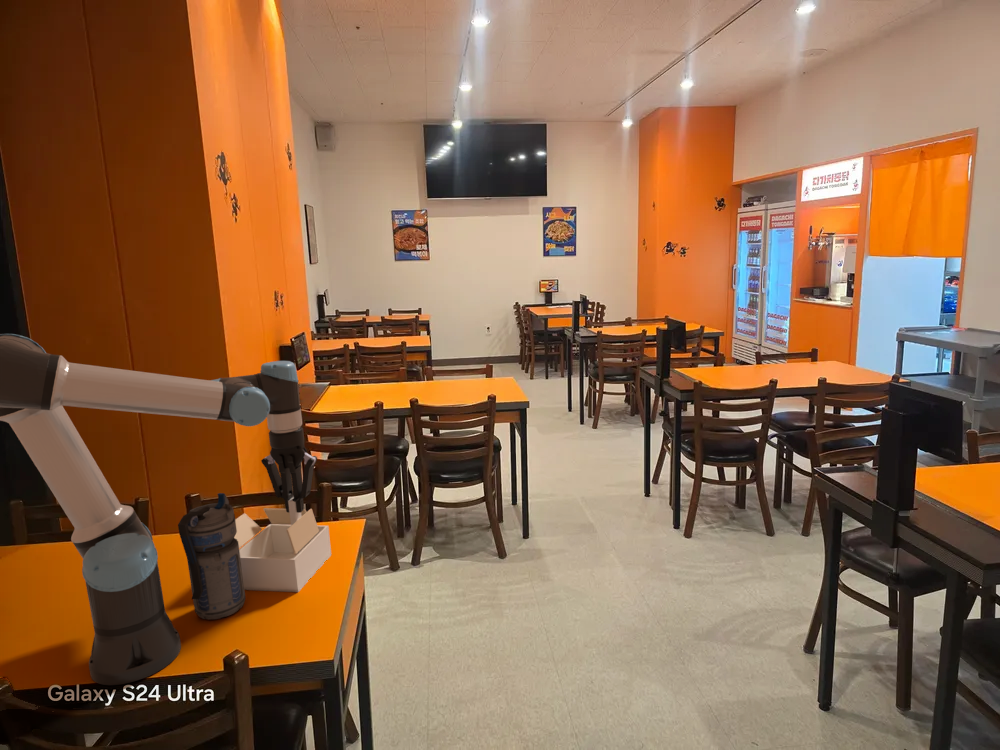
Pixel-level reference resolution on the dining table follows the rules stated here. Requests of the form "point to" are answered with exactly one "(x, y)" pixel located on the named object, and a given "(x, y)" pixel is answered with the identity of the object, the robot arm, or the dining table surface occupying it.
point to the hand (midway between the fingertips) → (296, 524)
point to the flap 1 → (279, 515)
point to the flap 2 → (302, 531)
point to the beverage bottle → (213, 559)
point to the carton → (278, 556)
